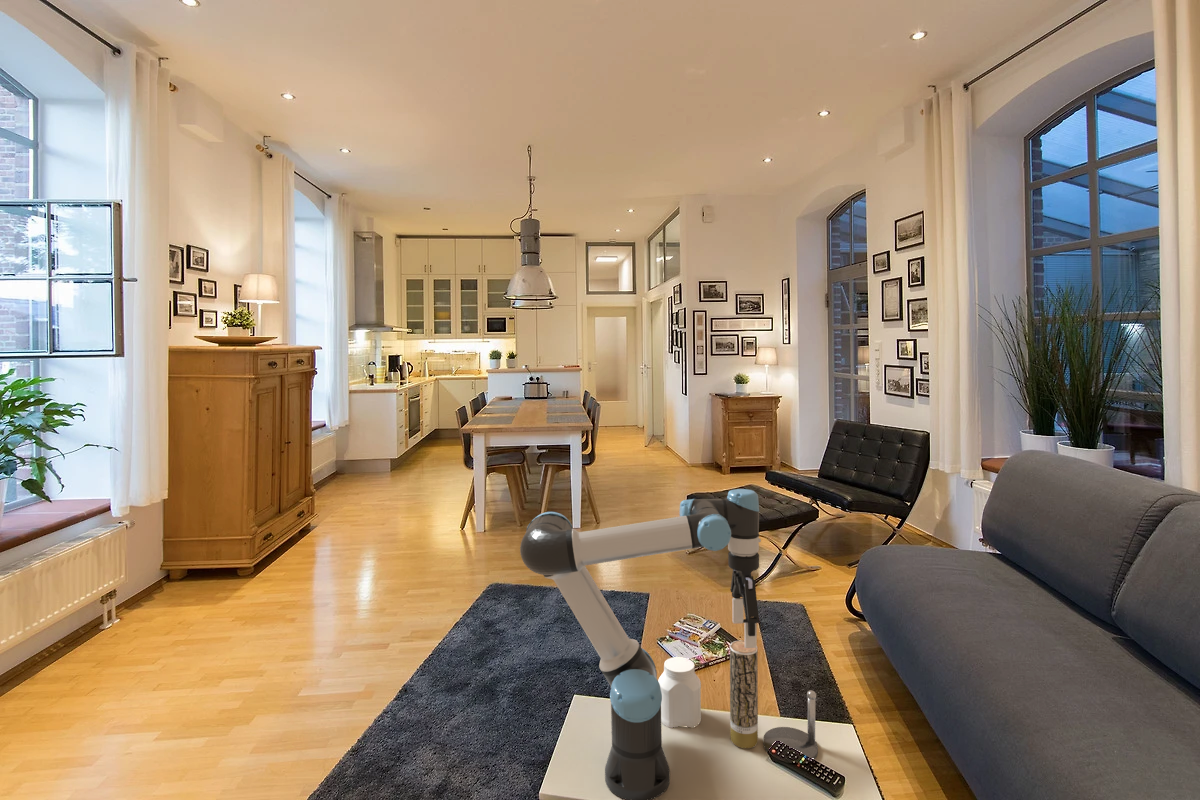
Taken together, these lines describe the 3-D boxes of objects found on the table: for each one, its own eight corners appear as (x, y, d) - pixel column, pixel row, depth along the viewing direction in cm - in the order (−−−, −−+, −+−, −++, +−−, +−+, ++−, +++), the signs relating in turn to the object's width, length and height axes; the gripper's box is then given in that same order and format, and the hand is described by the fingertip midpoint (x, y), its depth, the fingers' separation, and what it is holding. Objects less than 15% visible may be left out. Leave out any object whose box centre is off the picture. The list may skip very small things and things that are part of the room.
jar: (659, 727, 162) (658, 673, 161) (657, 707, 171) (657, 655, 170) (703, 728, 161) (702, 673, 160) (699, 707, 171) (698, 655, 170)
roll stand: (771, 764, 146) (771, 706, 145) (757, 731, 159) (757, 678, 158) (825, 763, 146) (825, 705, 145) (807, 730, 159) (807, 677, 158)
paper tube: (758, 751, 151) (758, 654, 150) (730, 748, 153) (730, 651, 151) (757, 734, 158) (756, 641, 156) (730, 732, 159) (729, 639, 158)
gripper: (772, 568, 139) (772, 658, 141) (746, 537, 164) (747, 613, 166) (739, 569, 139) (740, 659, 141) (719, 537, 164) (719, 614, 166)
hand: (744, 634), depth 153 cm, fingers open, 13 cm apart
